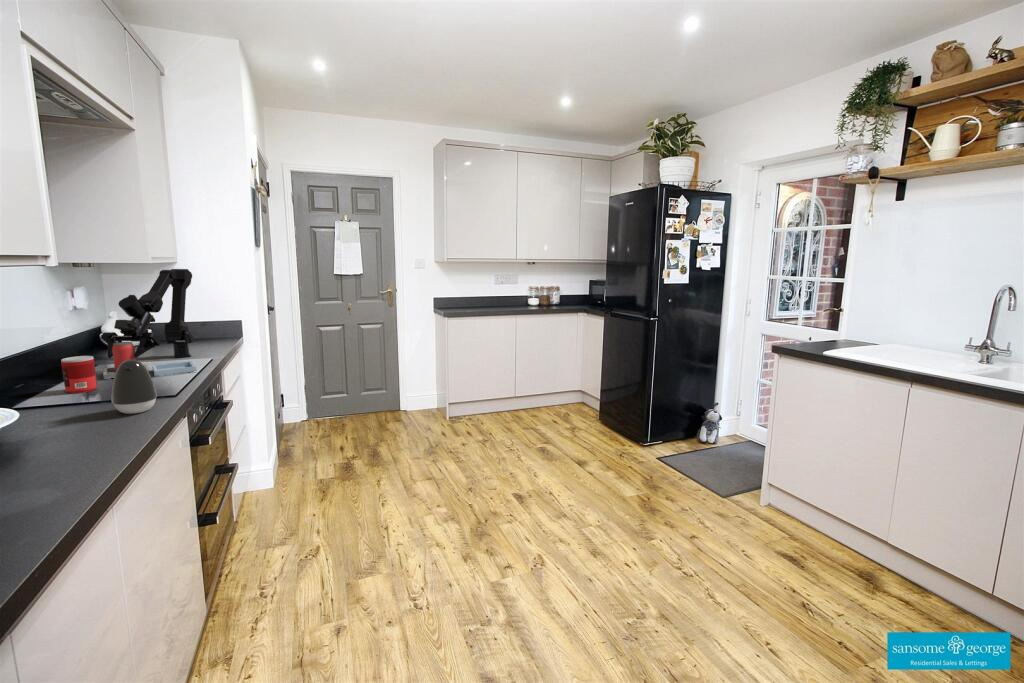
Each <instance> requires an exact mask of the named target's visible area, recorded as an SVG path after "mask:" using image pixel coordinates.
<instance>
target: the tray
mask: <svg viewBox="0 0 1024 683" xmlns="http://www.w3.org/2000/svg"><path fill="white" fill-rule="evenodd" d="M151 366H152V373H153V372H154V373H153V375H154V377H155V378H158V376H160V377H166V376H165V375H168V376H172V375H171V374H177V375H182V374H181V373H186V374H188V373H187V372H194V371H197V370H198V369H197V366H196V364H195V363H194V362H193V361H180V362H172V363H171V362H170V363H163V364H162V363H161V364H152V365H151Z"/></svg>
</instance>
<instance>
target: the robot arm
mask: <svg viewBox="0 0 1024 683" xmlns="http://www.w3.org/2000/svg"><path fill="white" fill-rule="evenodd" d="M192 278H193V273H192V272H191V271H190V269H188V268H171V269H161V270H159V275H158V277H157V278H156V280H155V281H154V283H153V284H152V286H151V288H150V290H148V292H147V293H145V294H142V295H141V296H140V297H139V298H137V296H136V295H135V294H128V296H126V297H123V298H122V299H121V300H119V302H118V306H119V307H120V309H121V310H122V311H123V312H124V313H125V314H126V315H127V316H128V317H131V318H132V319H130V320H129V319H116V320H115V322H114V325H113V326H114V327H113V328H114V329H115V330H120V331H119V333H120V334H122V335H118V333H116V332H115V331H113V332H112V331H108V332H107V331H105V332H102V334H101V336H100V339H101V340H102V341H103V342H104V343H106V344H107V357H108V358H109V359H111V358H112V357H113V352H112V349H113V346H114V345H113V344H114V343H119V342H132V343H134V342H135V343H137V342H138V343H139V344H138V346H137V348H136V349H135V354H134V357H135V358H136V359H137V358H139V357H140V356H142V355H143V354H144V353H147V351H149V350H151V349H154V348H156V347H159V346H161V343H162V339H161V338H160V337H159V336H158V334H157V333H156V332H152V331H150V332H149V330H148V327H149V325H150V324H151V323H156V318H155V317H154V315H152V314H151V313H154V314H155V313H156V314H157V313H160V311H161V310H162V307H163V305H164V300H163V297H164V295H165V294H166V293H167V290H168V289H169V288H170V286H171V288H172V293H171V310H170V311H171V312H170V320H169V322H167V323H165V325H164V332H163V334H164V337H165V340H166V342H167V344H172V347H173V354H172V357H173V358H174V359H179V358H188V357H192V354H191V353H190V347H189V346H190V345H189V344H192V343H194V335H193V334H191V332H190V331H189V326H188V325H187V324H188V323H186V322H185V321H186V320H185V315H186V299H187V298H186V296H187V295H186V294H187V289H188V288H189V286H191V284H192Z"/></svg>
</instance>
